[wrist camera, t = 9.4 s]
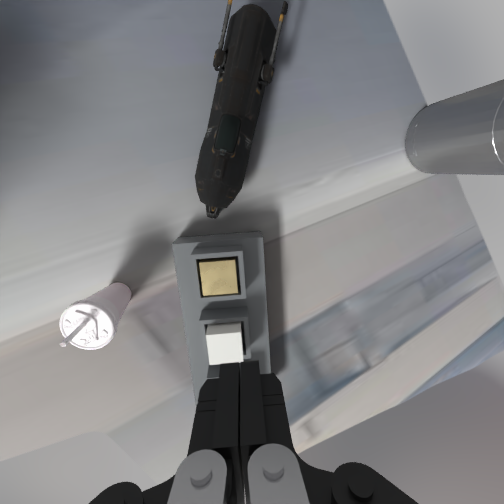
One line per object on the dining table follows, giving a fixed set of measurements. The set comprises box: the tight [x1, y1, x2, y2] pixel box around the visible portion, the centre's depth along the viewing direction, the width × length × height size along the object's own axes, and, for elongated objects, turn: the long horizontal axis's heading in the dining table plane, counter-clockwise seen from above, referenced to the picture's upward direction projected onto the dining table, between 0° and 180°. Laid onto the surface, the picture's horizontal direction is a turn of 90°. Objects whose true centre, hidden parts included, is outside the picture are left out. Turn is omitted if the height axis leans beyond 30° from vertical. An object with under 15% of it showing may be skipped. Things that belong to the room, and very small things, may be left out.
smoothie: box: [60, 283, 131, 350], centre depth 37 cm, size 6×6×14 cm
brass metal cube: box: [199, 256, 238, 296], centre depth 37 cm, size 4×4×3 cm
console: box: [172, 231, 271, 405], centre depth 42 cm, size 12×26×7 cm, turn 4°
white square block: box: [206, 321, 244, 365], centre depth 38 cm, size 4×4×3 cm
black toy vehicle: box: [195, 0, 288, 219], centre depth 34 cm, size 7×25×8 cm, turn 166°
